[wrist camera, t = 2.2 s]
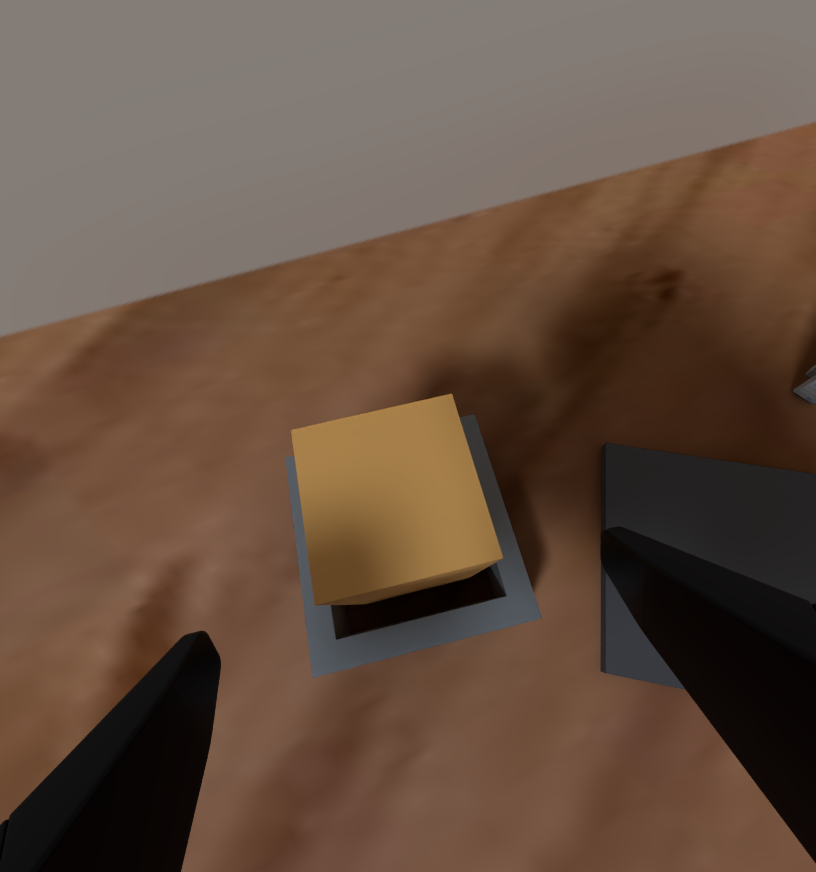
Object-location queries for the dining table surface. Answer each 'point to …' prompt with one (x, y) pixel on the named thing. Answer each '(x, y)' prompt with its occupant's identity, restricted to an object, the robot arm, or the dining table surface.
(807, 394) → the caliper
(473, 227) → the dining table surface
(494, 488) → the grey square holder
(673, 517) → the mat
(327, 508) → the block
